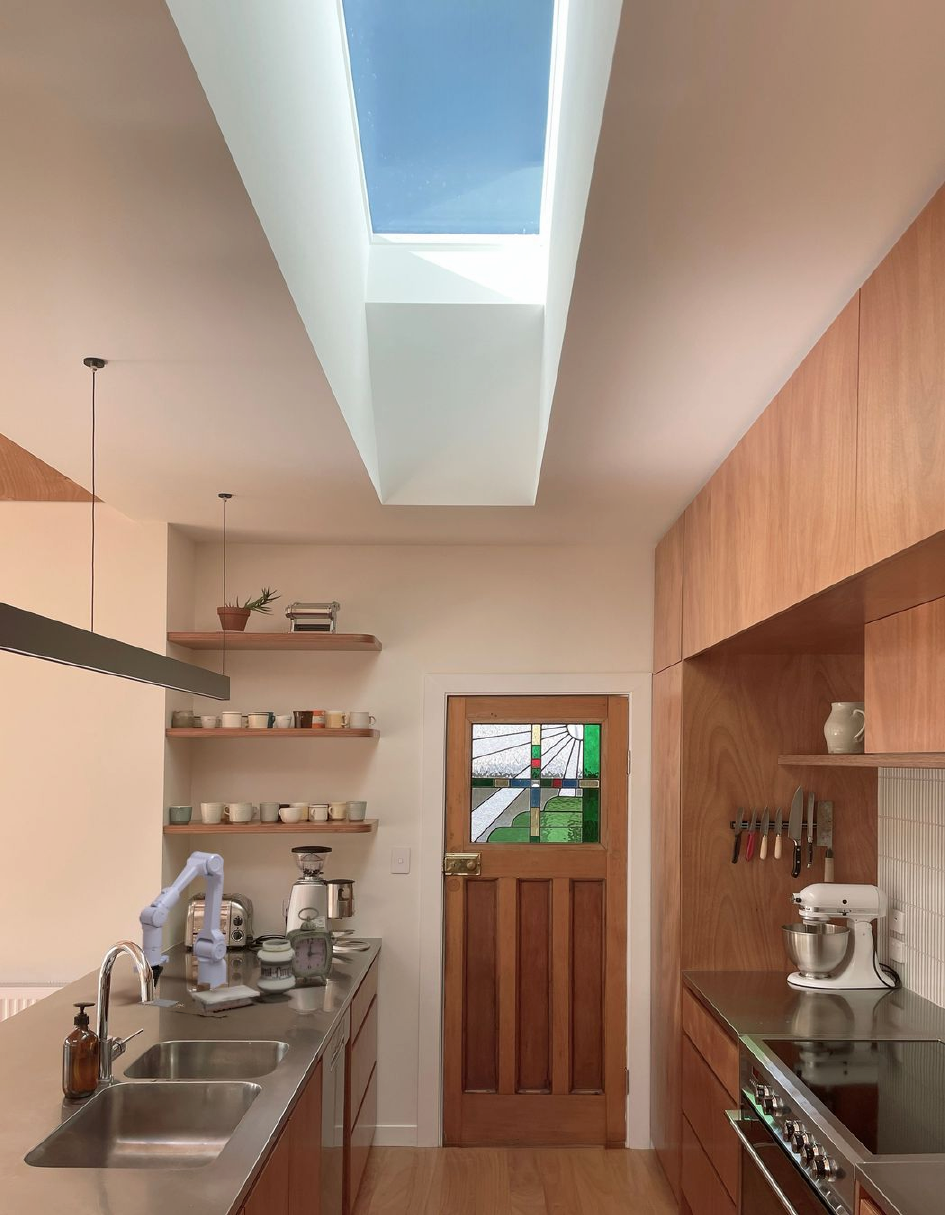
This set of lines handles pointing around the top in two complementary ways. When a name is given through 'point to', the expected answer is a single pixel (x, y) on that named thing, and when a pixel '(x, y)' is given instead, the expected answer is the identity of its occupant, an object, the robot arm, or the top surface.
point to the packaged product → (223, 998)
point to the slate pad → (160, 1002)
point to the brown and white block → (202, 987)
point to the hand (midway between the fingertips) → (150, 991)
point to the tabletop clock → (310, 949)
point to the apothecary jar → (276, 970)
